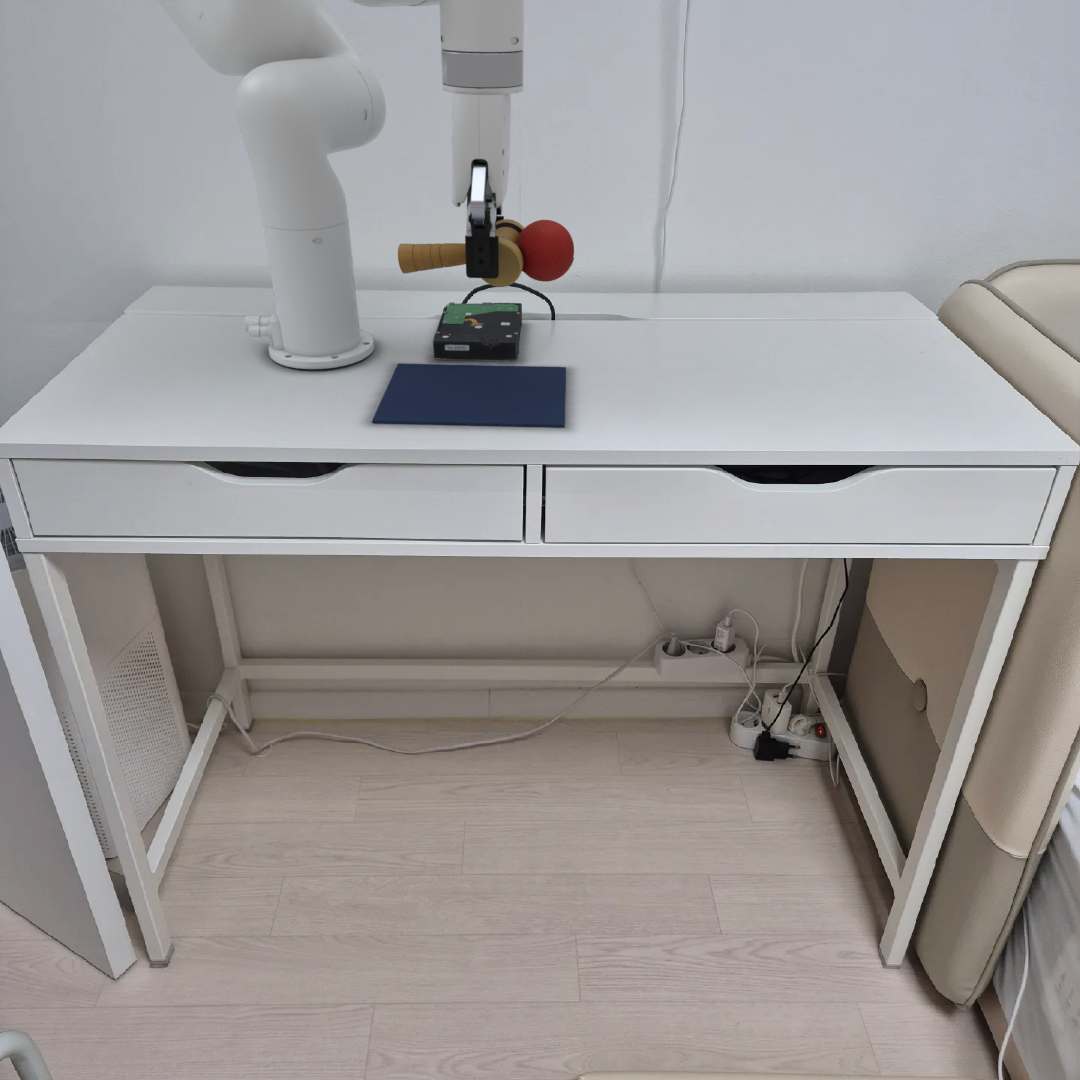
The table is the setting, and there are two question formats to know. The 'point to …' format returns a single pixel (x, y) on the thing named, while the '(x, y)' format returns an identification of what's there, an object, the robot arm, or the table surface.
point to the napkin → (474, 395)
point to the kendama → (503, 252)
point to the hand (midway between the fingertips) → (485, 264)
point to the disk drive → (479, 332)
